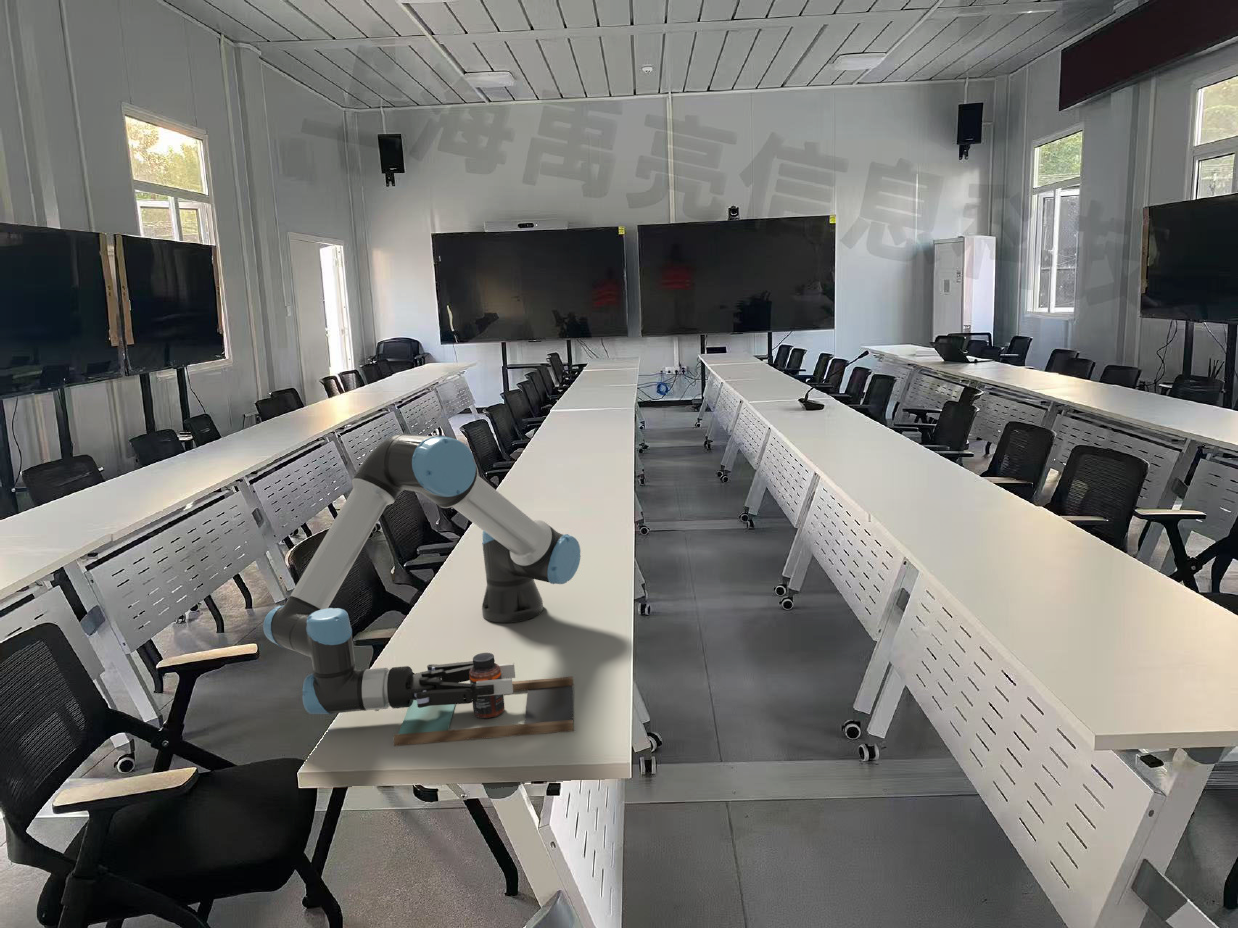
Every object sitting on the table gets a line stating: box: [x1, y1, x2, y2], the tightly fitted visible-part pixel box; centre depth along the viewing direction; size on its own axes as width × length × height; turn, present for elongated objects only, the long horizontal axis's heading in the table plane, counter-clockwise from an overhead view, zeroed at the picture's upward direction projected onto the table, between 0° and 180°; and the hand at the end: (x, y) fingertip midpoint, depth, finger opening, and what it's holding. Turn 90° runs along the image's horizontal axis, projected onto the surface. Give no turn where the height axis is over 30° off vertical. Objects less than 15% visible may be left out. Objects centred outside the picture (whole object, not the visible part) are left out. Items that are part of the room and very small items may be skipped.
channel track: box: [393, 676, 574, 747], centre depth 164 cm, size 32×19×2 cm, turn 93°
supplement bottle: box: [469, 652, 505, 719], centre depth 163 cm, size 6×6×11 cm
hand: (513, 677), depth 163 cm, fingers closed on supplement bottle, 6 cm apart
